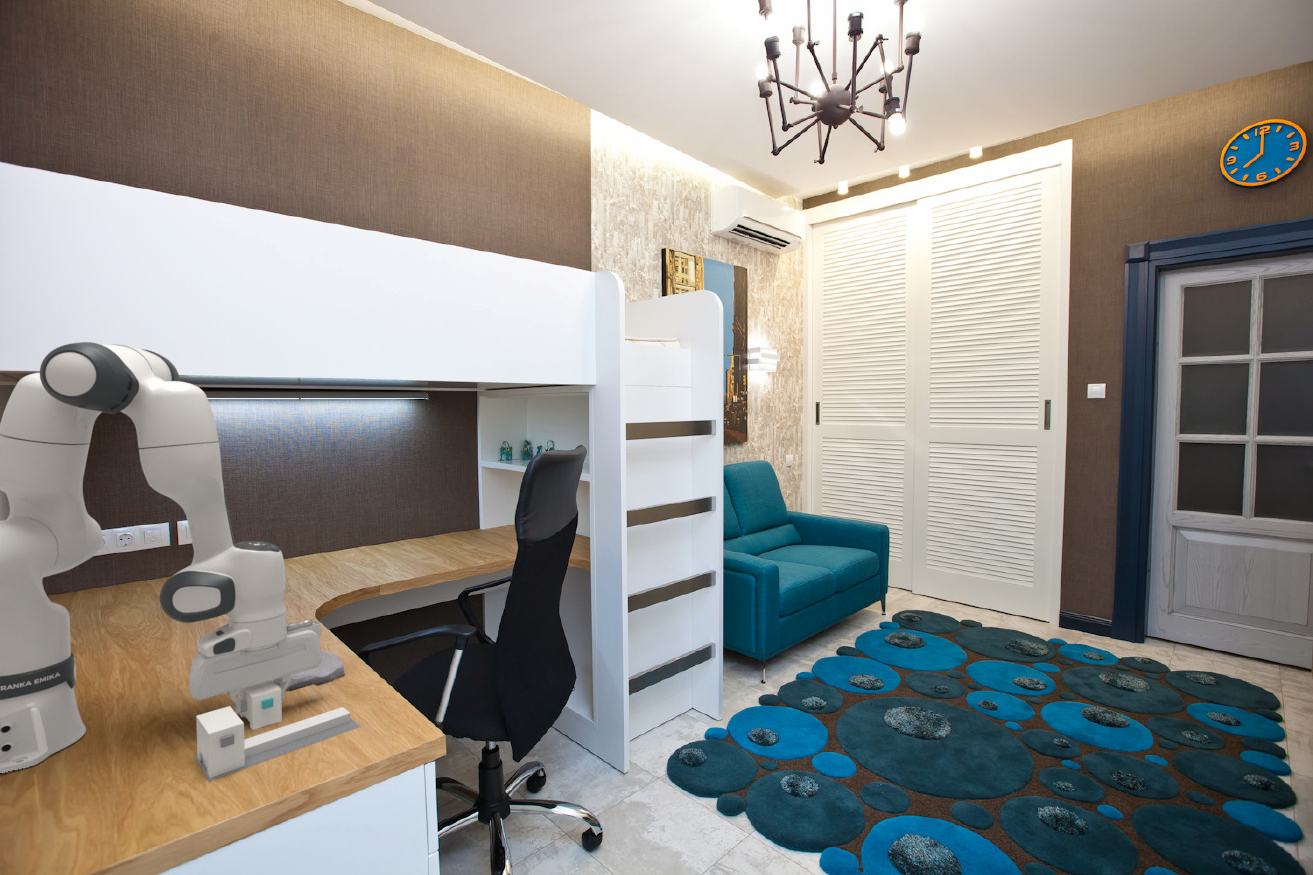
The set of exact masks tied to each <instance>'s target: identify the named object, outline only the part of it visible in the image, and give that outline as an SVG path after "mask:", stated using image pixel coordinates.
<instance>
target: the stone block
mask: <svg viewBox="0 0 1313 875" xmlns="http://www.w3.org/2000/svg"><path fill="white" fill-rule="evenodd" d="M321 653H322V662H321V663H320V665H319V666H318V667H317V668H314V669H310V670H307V671H303V672H300V673H296V674H292V675H291V681H290V683H289V685H288V687H287V688H286V690H285V691H293V690H296V689H300V688H301V689H302V688H305V687H308V686H309V687H310V686H313V685H319V684H323V683H326V682H331V681H334V680H336V679H338V678H341V677H343V676H344V675H345V667H344V662H343V661H342V659H341V658H340V657H338V654H335V653H334V652H333V651H329V650H328V651H326V650H321ZM342 675H343V676H342ZM273 682H274V683H275V684H277V685H278V686H279V685H280V683H281V680H280V679H279V678H278V679H274V680H273Z"/></svg>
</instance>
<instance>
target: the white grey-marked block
mask: <svg viewBox="0 0 1313 875" xmlns="http://www.w3.org/2000/svg"><path fill="white" fill-rule="evenodd" d="M195 717H196V718H195V720H196V752H197V753H196V754H197V755H196V756H197V758H198V759H199V761H203V757H204V758H205V760H206V762H207V774H208V776H209V778H213V777H215V776H218V775H221V774H224V773H226V772H229V771H232V770H235V769H238V768H240V767H243V766H245V750H244V739H245V723H244V721H243V720H242V719H241V718H240V716H239V714H237V713H236V712H235V709H233V708H232V707H231V705H229V706H226V707H225V706H224V707H221V708H218V709H214V710H211V711H208V712H204V713H202V714H198V715H196V716H195Z"/></svg>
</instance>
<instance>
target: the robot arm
mask: <svg viewBox="0 0 1313 875" xmlns="http://www.w3.org/2000/svg"><path fill="white" fill-rule="evenodd" d="M120 412H121V413H122V414H124V415H126V416H127V417H129V418H130V419H131V421H132V422H133V424H134V427H135V429H136V431H135V432H136V436H137V446H138V453H139V454H138V455H139V460H140V465H141V469H142V471H143V474H144V476H145V480H146V481H147V483H148V486H149V487H151V488H152V489H153V490H154V491H156V492H158V493H159V494H160V495H163V496H165V497H167V498H169V499H171V500H172V501H174V502H175V503H177V504H178V505H179V506H180V508H182V511H184V514H185V516H186V521H187V525H188V530H189V535H190V539H191V543H192V548H193V558H192V561H191V563H190V565H188V566H186V567H185V568H183V569H180V570H179V571H178V572H176V573H174V574H173V575H172V576H171V577H169V578H168V579H167V580H166V581H165V582H164V584H163V585H162V587H161V589H160V593H159V604H160V607H161V609H162V610H163V612H164V613H165V614H166V615H167V616H168V617H169V618H170V619H172V620H174V621H177V622H180V623H187V624H190V623H196V622H202V621H206V620H210V619H214V618H217V617H221V616H224V615H225V616H228V617H227V618H228V623H225V624H224V625H221V626H220V627H218V628H216V629H214V630H212V631H210V632H208V633H205V634H204V635H202V636H200V637H199V638H197V641H196V645H197V646H196V647H197V650H198V651H199V652H197V654H196V655H195V656H194V657H193V659H192V661H191V666H190V671H189V682H188V683H189V684H188V685H189V686H188V687H189V688H188V689H189V690H188V691H189V693H190V696H191V697H192V698H194V699H196V700H197V701H202V700H206V699H209V698H212V697H216V696H217V697H218V696H221V695H224V694H226V695H227V696H228V697H229V698H230V699H231V700H232V702H233V703H234V712H235V713H236V714H237V715H240V713H242V712H245V711H247V702H246V701H245V699H243V700H239V698H238V697H237V696H239V689H242V688H246V687H249V686H253V685H256V684H260V683H264V682H267V681H271V680H272V681H274V679H278V678H279V679H280V680H281V683H280V685H278V686H279V687H280V688H281V702H282V701H284V700H285V698H286V697H285V692H286V691H287V690H286V688H287V687H288V685H289V683H290V681H291V675H292V674H296V673H300V672H303V671H307V670H310V669H314V668H317V667H318V666H319V665H320V663H321V662H322V653H321V651H322V647H321V642H320V638H321V636H322V626H321V624H320V622H318V621H316V620H313V619H306V620H304V621H303V620H302V621H298V622H291V623H288V622H287V621H288V618H287V616H288V615H287V606H286V604H285V598H284V597H285V593H286V589H287V578H286V568H285V567H286V566H285V560H284V555H283V552H282V550H281V549H280V548H279V547H278V546H277V545H276V544H273V543H270V542H267V541H259V540H251V541H240V542H237V543H236V542H235V538H234V533H233V528H232V524H231V518H230V514H229V508H228V504H227V499H226V495H225V491H224V490H225V489H224V480H223V471H222V470H223V469H222V460H221V459H222V458H221V449H220V447H221V446H220V442H219V437H218V436H219V435H218V430H217V425H216V421H215V417H214V413H213V410H212V407H211V405H210V402H209V399H208V396H207V395H206V393H205V391H203V390H202V389H201V388H200V387H199V386H197V385H194V384H193V383H191V382H190V383H189V382H185V381H180V375H179V372H178V370H177V368H176V367H175V365H174V364H173V362H171V361H170V360H169V359H168V358H167V357H165V356H163V355H161V354H159V353H157V352H155V351H152V350H149V349H144V348H142V349H140V348H138V347H135V346H129V345H125V344H118V343H115V344H111V343H110V344H109V343H108V344H107V343H97V342H92V341H91V342H89V341H84V342H83V341H82V342H73V343H67V344H64V345H61V346H58V347H56V348H54V349H52V350H51V351H50V352H48V353H47V354H46V356H45V357H44V359H42V362H41V364H40V368H39V372H35V373H30V374H27V375H25V376H23V377H22V378H20V379H19V381H18V382H16V385H15V386H14V388H13V390H12V392H11V394H10V397H9V399H8V401H7V403H6V406H5V408H4V411H3V414H2V417H1V421H0V491H1V492H3V493H5V494H6V497H7V500H8V505H9V514H8V517H7V518H6V519H2V520H0V773H2V774H5V772H6V773H9V772H8V771H10V772H13V771H12V770H15V771H18V769H19V770H22V768H23V769H26V768H30V766H31V767H33V766H36V765H38V764H39V763H41V762H44V760H46V759H47V758H48V757H50V756H52V755H53V754H55V753H57V752H59V751H61V750H63V749H65V748H67V747H69V746H70V745H73V744H74V743H76V742H77V741H78V740H80V739H82V737H84V735H85V734H86V731H87V728H86V726H85V724H84V721H83V720H82V716H81V713H80V711H79V708H78V703H77V700H76V693H75V689H74V687H75V685H76V681H77V666H76V659H75V655H74V653H72V652H71V650H72V649H71V624H70V623H71V619H70V617H71V616H70V613H69V611H68V609H66V607H65V606H63V605H61V604H59V603H56V602H52V601H51V599H50V598H49V597H48V595H47V593H46V591H45V589H44V585H43V584H44V583H43V579H44V578H46V577H49V576H53V575H56V574H60V573H61V574H62V573H64V572H67V571H70V570H71V569H73V568H75V567H78V566H79V565H81V564H82V563H84V562H86V561H88V560H90V559H91V558H92V557H94V556H95V555H96V554H97V553H98V552H99V551H100V549H101V547H102V544H103V539H104V538H103V536H104V535H103V531H102V529H101V526H100V524H99V523H98V522H97V521H96V520H95V519H94V518H93V517H92V516H91V515H90V514H89V513H88V511H87V508H86V506H85V505H86V502H85V498H84V492H83V491H84V490H83V485H84V484H83V483H84V476H85V469H86V464H87V459H88V454H89V449H90V444H91V439H92V434H93V429H94V425H95V422H96V420H97V419H98V417H99V416H100V414H102V413H106V414H110V415H111V414H112V415H114V414H118V413H120ZM287 623H288V624H287Z"/></svg>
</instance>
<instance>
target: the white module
mask: <svg viewBox="0 0 1313 875" xmlns="http://www.w3.org/2000/svg"><path fill="white" fill-rule="evenodd" d="M238 696H239V698H238V700H243V699H245V701H246V702H247V711H245V712H242V713H239V716H240V717H242V718H245V719H247V721H248V722H249V727H250V729H251V730H252V731H255V730H258V729H261V728H264V727H267V726H270V725H273V724H277V723H280V722H282V721H283V717H282V716H283V715H282V714H283V713H282V712H283V711H282V704H283V703H282V701H281V688H280V687H279V685H277V684H276V683H274V680H271V681H267V682H264V683H260V684H256V685H253V686H249V687H246V688H242V689H239V695H238Z"/></svg>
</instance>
